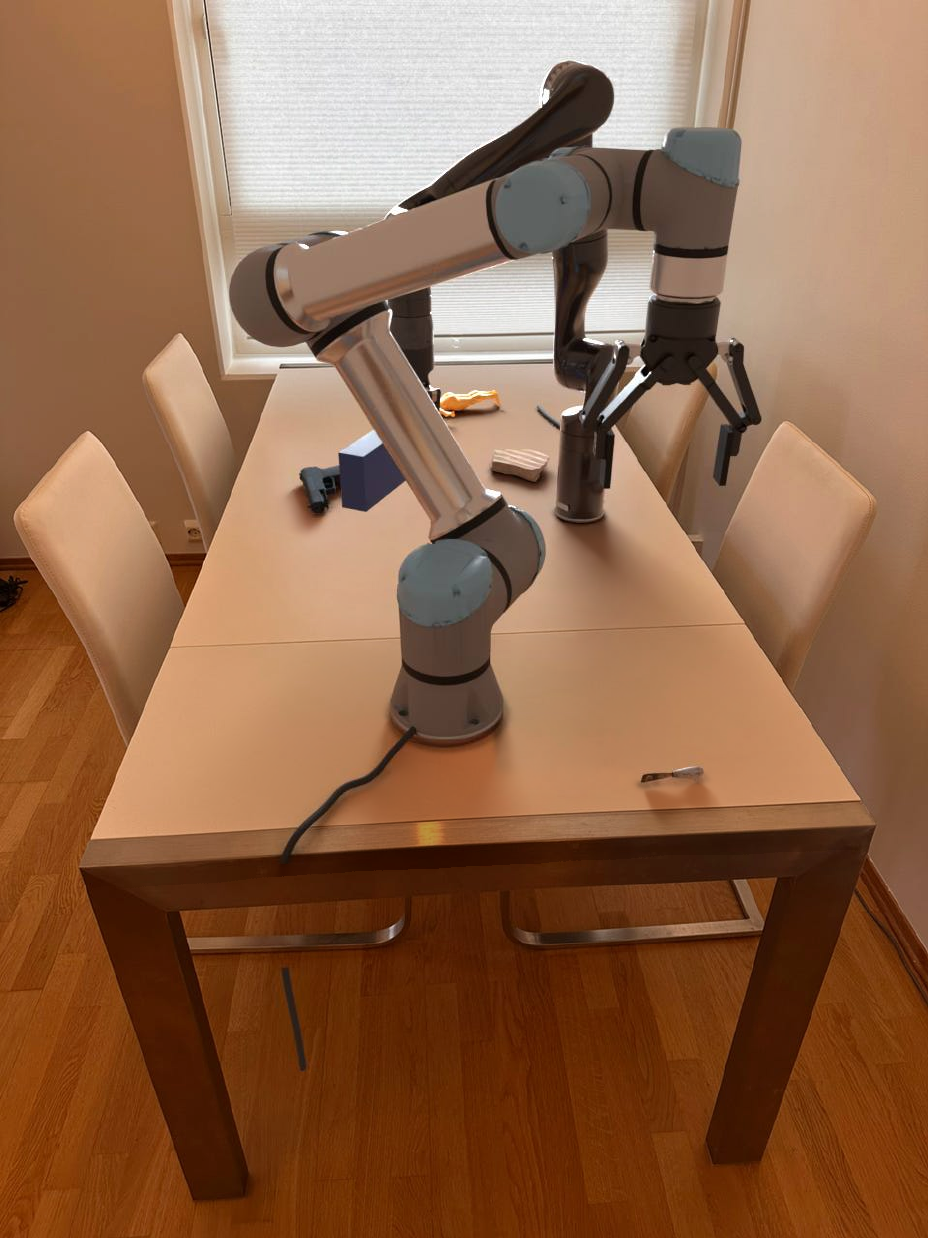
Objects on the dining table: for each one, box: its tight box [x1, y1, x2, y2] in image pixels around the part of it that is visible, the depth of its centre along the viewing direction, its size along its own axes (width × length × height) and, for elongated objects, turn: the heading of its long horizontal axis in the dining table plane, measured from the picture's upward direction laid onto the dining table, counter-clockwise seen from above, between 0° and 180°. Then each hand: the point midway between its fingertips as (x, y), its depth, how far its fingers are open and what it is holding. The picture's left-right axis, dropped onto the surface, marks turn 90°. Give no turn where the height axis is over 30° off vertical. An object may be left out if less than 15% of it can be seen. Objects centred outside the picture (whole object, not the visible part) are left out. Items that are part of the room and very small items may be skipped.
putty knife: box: [640, 765, 705, 784], centre depth 109 cm, size 1×8×2 cm, turn 103°
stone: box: [489, 448, 550, 483], centre depth 192 cm, size 13×12×2 cm
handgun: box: [298, 464, 341, 515], centre depth 181 cm, size 3×18×12 cm
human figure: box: [430, 384, 500, 418], centre depth 225 cm, size 20×20×4 cm
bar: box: [337, 429, 406, 513], centre depth 147 cm, size 23×4×9 cm, turn 156°
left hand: (662, 483), depth 105 cm, fingers open, 13 cm apart
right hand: (414, 438), depth 155 cm, fingers closed on bar, 5 cm apart
